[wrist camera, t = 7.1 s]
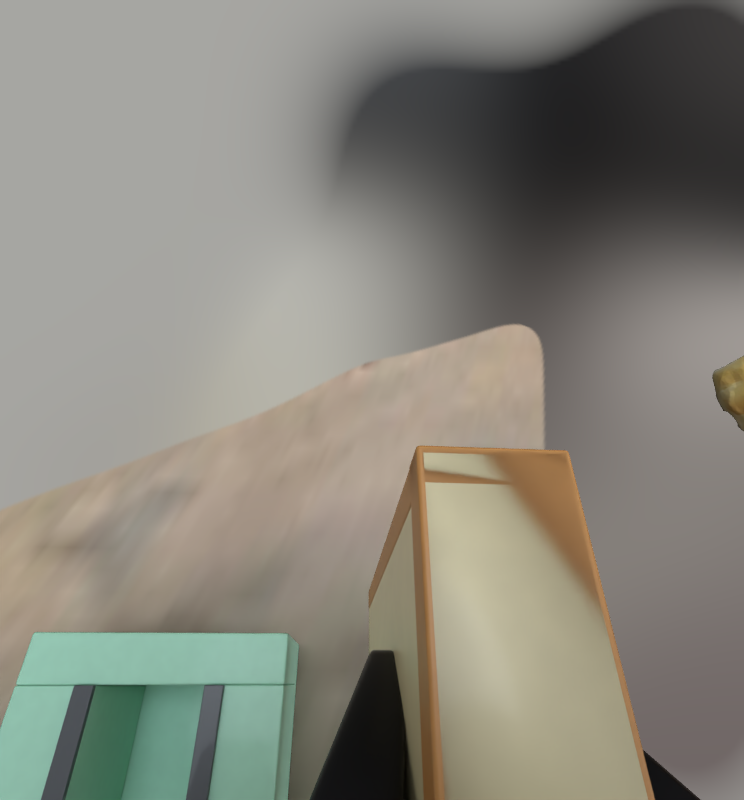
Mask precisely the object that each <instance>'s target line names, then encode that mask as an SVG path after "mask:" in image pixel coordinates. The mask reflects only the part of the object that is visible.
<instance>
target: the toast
mask: <svg viewBox="0 0 744 800" xmlns="http://www.w3.org/2000/svg"><path fill="white" fill-rule="evenodd" d="M372 650H392V651H393V652H394V657H395V663H396V669H397V675H398V681H399V687H400V693H401V700H402V706H403V713H404V721H405V742H404V800H655V798H654V793H653V789H652V785H651V781H650V777H649V773H648V769H647V765H646V761H645V757H644V753H643V749H642V745H641V741H640V737H639V733H638V729H637V725H636V721H635V717H634V713H633V709H632V705H631V701H630V697H629V693H628V689H627V686H626V681H625V677H624V673H623V669H622V665H621V661H620V657H619V653H618V649H617V645H616V641H615V637H614V633H613V629H612V625H611V621H610V617H609V613H608V609H607V605H606V601H605V597H604V593H603V589H602V585H601V581H600V576H599V572H598V568H597V564H596V560H595V556H594V552H593V548H592V544H591V541H590V536H589V533H588V528H587V525H586V520H585V516H584V512H583V508H582V504H581V500H580V497H579V492H578V488H577V484H576V480H575V476H574V472H573V468H572V464H571V460H570V456H569V453H568V451H565V450H535V449H505V448H474V447H444V446H417V447H416V450H415V453H414V456H413V459H412V462H411V465H410V470H409V473H408V476H407V479H406V482H405V485H404V488H403V491H402V494H401V497H400V500H399V503H398V506H397V509H396V512H395V515H394V518H393V521H392V524H391V527H390V530H389V533H388V536H387V539H386V542H385V545H384V548H383V551H382V554H381V557H380V560H379V563H378V566H377V569H376V572H375V575H374V578H373V581H372V584H371V587H370V590H369V654H370V652H371V651H372Z"/></svg>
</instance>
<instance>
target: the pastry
mask: <svg viewBox="0 0 744 800" xmlns="http://www.w3.org/2000/svg"><path fill="white" fill-rule="evenodd" d="M713 382H714V386H715V390H716V397H717V399H718V402H719V403H720V405H721V407H722V409H723V411H727V412H728V413H730V414H731V415H732V416H733V417H734V419H735V420H736V421H737V423H738V427H739V428H740V429H741V430H743V431H744V356H742V357H740V358H739V359H737V360H735V361H733V362H731V363H729V364H728V365H726V366H725V367H722V368H720V369H717V370H715V371H714V373H713Z"/></svg>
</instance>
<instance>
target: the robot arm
mask: <svg viewBox="0 0 744 800" xmlns="http://www.w3.org/2000/svg"><path fill="white" fill-rule="evenodd" d="M404 742H405V721H404V713H403V706H402V700H401V693H400V687H399V681H398V675H397V669H396V663H395V657H394V652H393V651H392V650H372V651H371V652H370V654H369V656H368V659H367V661H366V663H365V666H364V668H363V671H362V673H361V676H360V678H359V680H358V683H357V685H356V688H355V690H354V693H353V695H352V698H351V700H350V702H349V705H348V707H347V710H346V712H345V715H344V717H343V719H342V722H341V724H340V727H339V729H338V732H337V734H336V737H335V739H334V741H333V744H332V746H331V749H330V751H329V754H328V756H327V758H326V761H325V763H324V766H323V768H322V771H321V773H320V775H319V778H318V780H317V783H316V785H315V788H314V790H313V793H312V795H311V797H310V800H404ZM643 753H644V757H645V761H646V765H647V769H648V773H649V777H650V781H651V785H652V789H653V793H654V798H655V800H700V799H699V798H698V797H697V796H696V795H694V794H693V793H692V792H691V791H690V790H689V789H688V788H686V787H685V786H684V785H683V784H682V783H681V782H679V781H678V780H677V779H676V778H675V777H674V776H673V775H671V774H670V773H669V772H668V771H667V770H666V769H665V768H663V767H662V766H661V765H660V764H659V763H658V762H656V761H655V760H654V759H653V758H652V757H651V756H650V755H648V754H647V753H646V752H645V751H644V750H643Z"/></svg>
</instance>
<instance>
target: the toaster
mask: <svg viewBox="0 0 744 800" xmlns="http://www.w3.org/2000/svg"><path fill="white" fill-rule="evenodd" d="M298 652H299V644H298V643H297V642H296V641H295V640H294V639H293V638H292V637H291V636H290V635H289V634H287V633H124V632H36V633H34V634H33V636H32V639H31V642H30V645H29V648H28V651H27V654H26V656H25V659H24V662H23V665H22V668H21V671H20V674H19V676H18V679H17V682H16V684H17V685H18V686H15V688H14V691H13V694H12V696H11V699H10V702H9V705H8V708H7V711H6V714H5V716H4V719H3V722H2V725H1V728H0V800H288V788H289V774H290V761H291V747H292V733H293V720H294V706H295V692H296V679H297V665H298Z"/></svg>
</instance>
